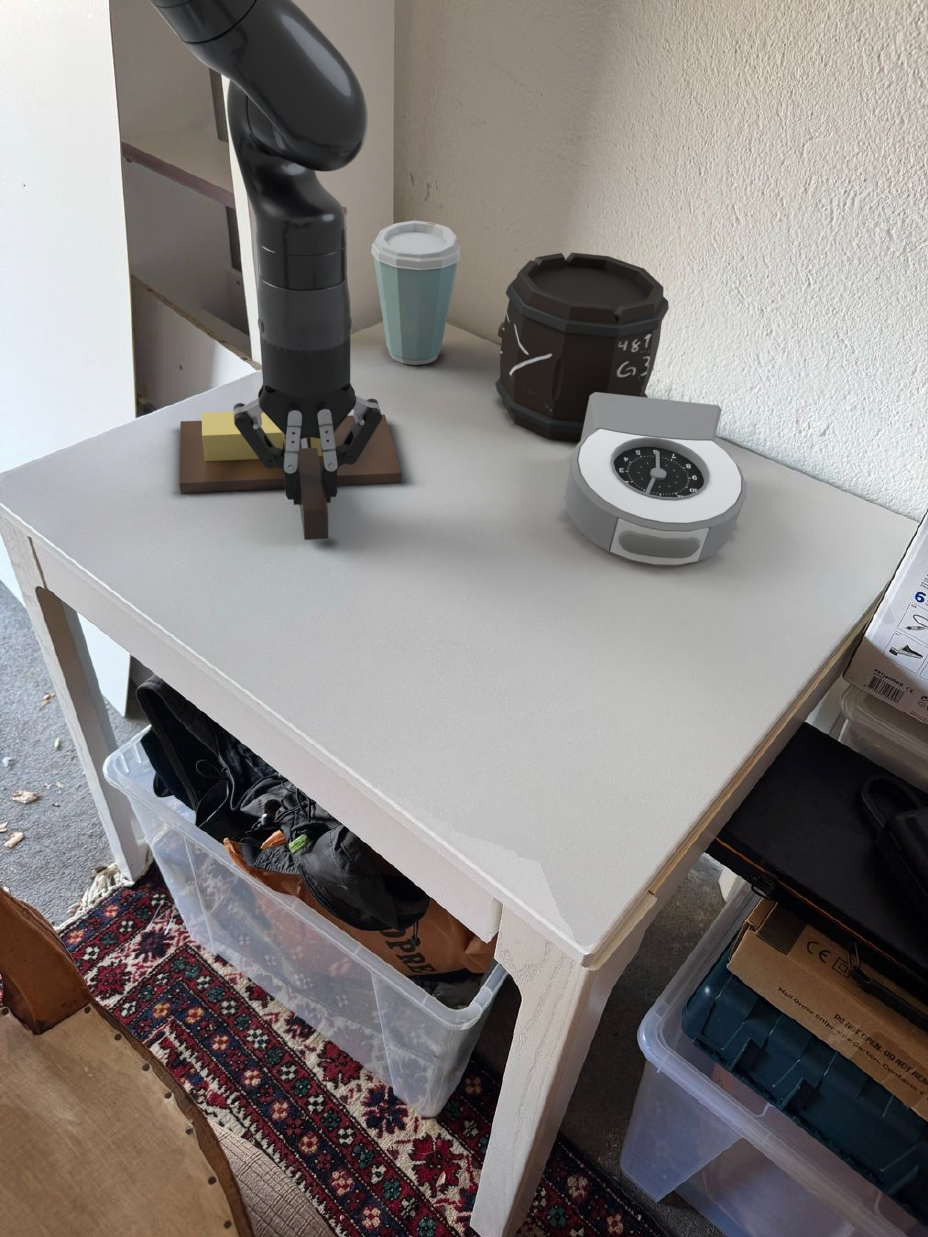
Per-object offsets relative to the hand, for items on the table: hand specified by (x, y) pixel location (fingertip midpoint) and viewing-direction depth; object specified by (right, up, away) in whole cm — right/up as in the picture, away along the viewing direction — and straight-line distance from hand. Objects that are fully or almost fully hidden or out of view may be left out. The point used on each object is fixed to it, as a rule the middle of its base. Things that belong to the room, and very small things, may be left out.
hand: (311, 498), depth 89 cm
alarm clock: (+33, -1, +6) cm, 34 cm away
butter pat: (-1, +7, +9) cm, 11 cm away
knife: (-1, +3, +5) cm, 6 cm away
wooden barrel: (+27, +13, +22) cm, 37 cm away
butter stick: (-8, +6, +7) cm, 12 cm away
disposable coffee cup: (+8, +22, +29) cm, 38 cm away
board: (-4, +6, +9) cm, 11 cm away
